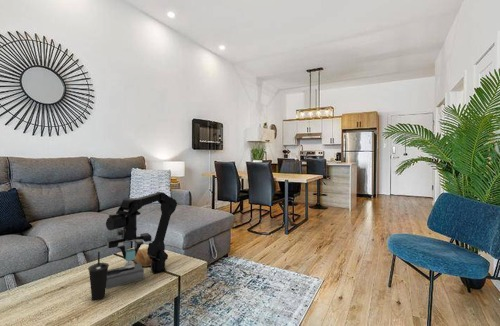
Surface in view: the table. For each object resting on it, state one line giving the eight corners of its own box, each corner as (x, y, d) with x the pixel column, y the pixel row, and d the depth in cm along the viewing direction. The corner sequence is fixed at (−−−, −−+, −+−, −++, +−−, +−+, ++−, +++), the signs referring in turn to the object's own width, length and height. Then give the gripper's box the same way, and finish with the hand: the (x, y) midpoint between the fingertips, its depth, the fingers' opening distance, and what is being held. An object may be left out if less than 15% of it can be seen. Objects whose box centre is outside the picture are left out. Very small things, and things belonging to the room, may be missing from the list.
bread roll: (140, 270, 136) (140, 256, 136) (128, 262, 147) (129, 248, 146) (156, 265, 143) (157, 251, 143) (145, 257, 154) (145, 244, 154)
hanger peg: (133, 263, 124) (133, 248, 123) (135, 266, 120) (135, 250, 120) (123, 265, 121) (123, 250, 121) (125, 269, 117) (125, 252, 117)
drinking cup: (93, 304, 104) (94, 256, 104) (84, 298, 108) (84, 252, 108) (112, 296, 111) (112, 251, 110) (102, 291, 115) (103, 247, 114)
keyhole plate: (139, 272, 134) (139, 263, 134) (143, 279, 126) (143, 269, 126) (100, 281, 123) (100, 271, 123) (102, 289, 116) (102, 278, 116)
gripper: (145, 219, 132) (145, 249, 133) (105, 224, 121) (104, 256, 121) (152, 224, 123) (151, 255, 124) (108, 229, 112) (108, 264, 112)
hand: (129, 257), depth 120 cm, fingers closed on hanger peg, 4 cm apart
